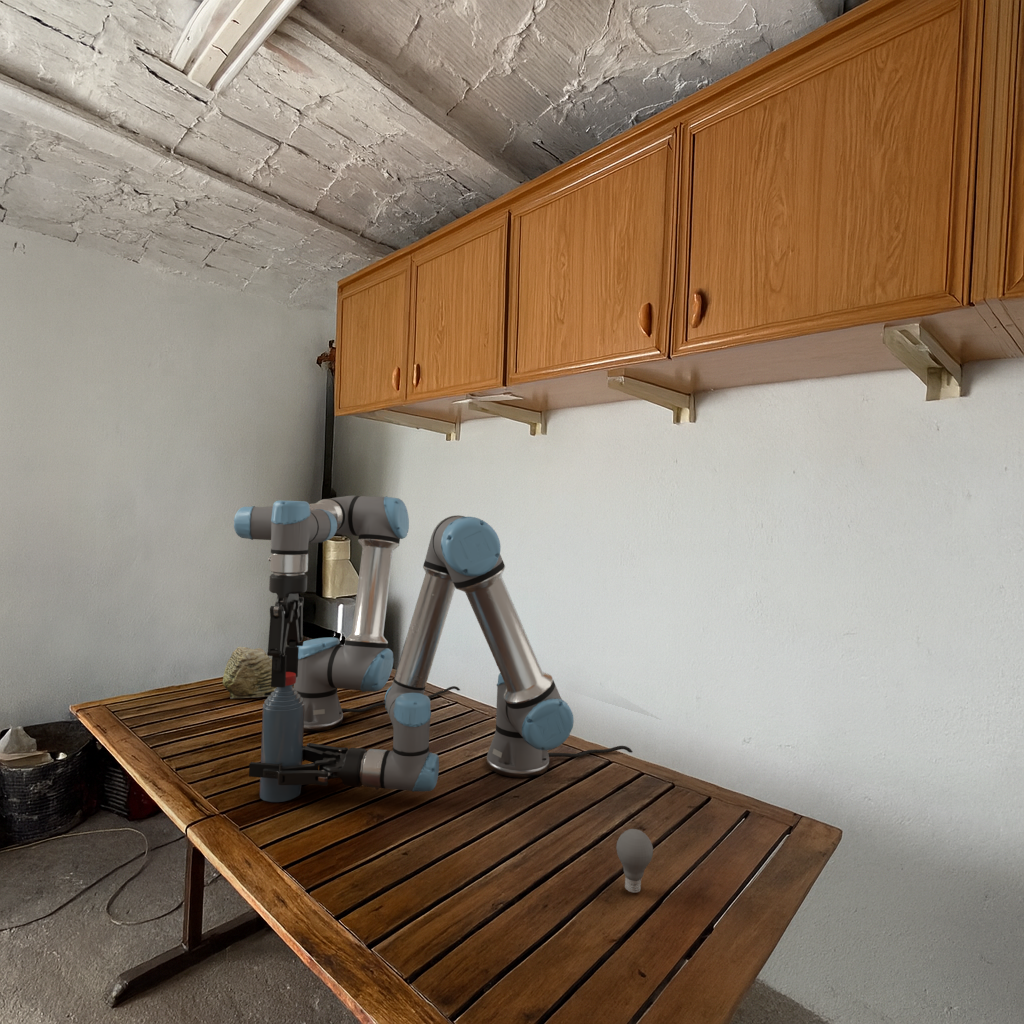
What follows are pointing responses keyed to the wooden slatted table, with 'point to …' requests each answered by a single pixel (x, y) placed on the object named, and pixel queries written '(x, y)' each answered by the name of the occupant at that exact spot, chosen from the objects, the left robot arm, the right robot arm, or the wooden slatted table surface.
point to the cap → (290, 678)
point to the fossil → (248, 673)
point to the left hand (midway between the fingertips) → (284, 681)
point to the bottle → (282, 740)
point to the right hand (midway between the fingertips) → (260, 760)
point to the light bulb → (634, 857)
